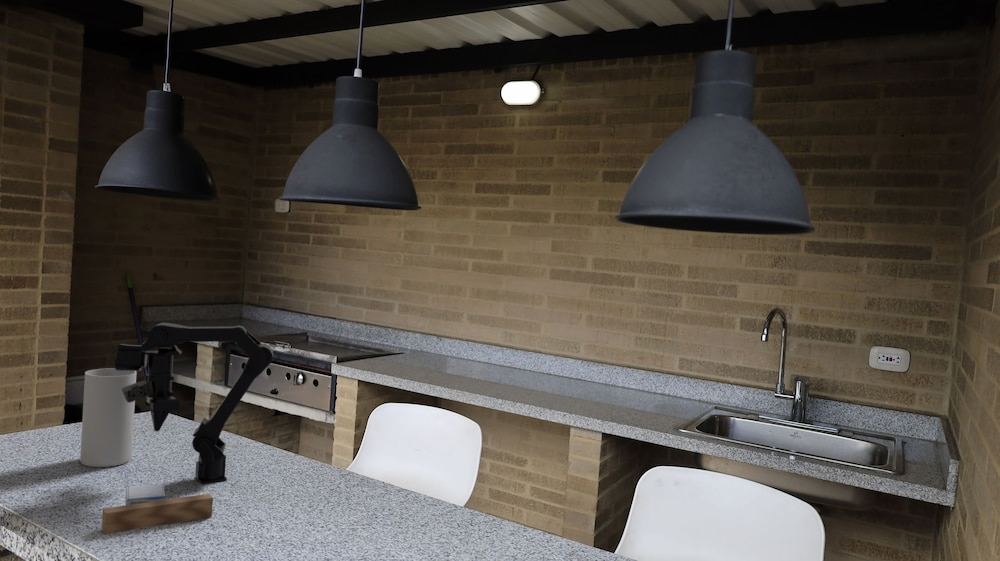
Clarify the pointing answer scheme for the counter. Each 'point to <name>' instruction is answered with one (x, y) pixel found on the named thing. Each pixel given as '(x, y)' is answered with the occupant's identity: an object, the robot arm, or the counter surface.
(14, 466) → the counter surface
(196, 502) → the brown wooden block
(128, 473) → the counter surface
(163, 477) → the counter surface
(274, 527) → the counter surface
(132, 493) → the medicine box
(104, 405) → the cylinder vase
